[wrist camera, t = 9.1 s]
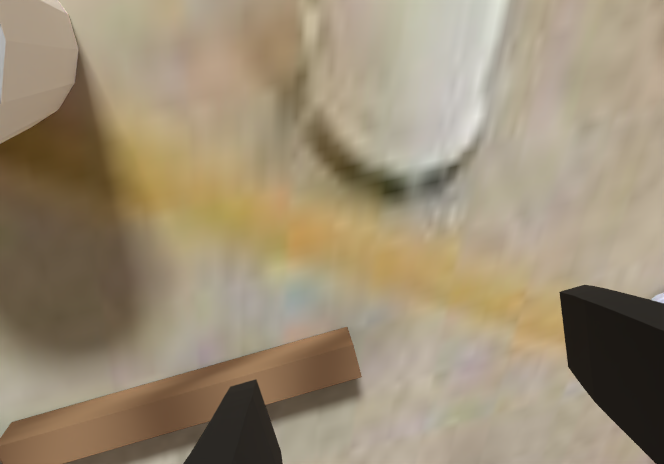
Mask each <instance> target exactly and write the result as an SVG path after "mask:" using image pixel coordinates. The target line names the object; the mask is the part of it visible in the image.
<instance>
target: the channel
mask: <svg viewBox="0 0 664 464" xmlns="http://www.w3.org/2000/svg"><path fill="white" fill-rule="evenodd" d="M360 377H362V376H361V373H360V369H359V365H358V361H357V357H356V354H355V350H354V346H353V343H352V340H351V337H350V334H349V331H348V328H347V327H345V328H341V329H338V330H334V331H331V332H327V333H324V334H320V335H317V336H313V337H310V338H306V339H303V340H299V341H296V342H292V343H289V344H285V345H282V346H278V347H275V348H271V349H268V350H264V351H261V352H257V353H254V354H250V355H247V356H243V357H240V358H236V359H233V360H229V361H226V362H222V363H219V364H215V365H212V366H208V367H205V368H201V369H197V370H194V371H190V372H187V373H183V374H180V375H176V376H173V377H169V378H166V379H162V380H159V381H155V382H152V383H148V384H145V385H141V386H138V387H134V388H131V389H127V390H124V391H120V392H117V393H113V394H110V395H106V396H103V397H99V398H96V399H92V400H89V401H85V402H82V403H78V404H75V405H71V406H68V407H64V408H61V409H57V410H54V411H50V412H47V413H43V414H40V415H36V416H32V417H29V418H25V419H22V420H18V421H15V422H11V424H10V425H9V427H8V428H7V430H6V431H5V432H4V434H3V435H2V437H1V438H0V460H1V462H2V464H63V463H67V462H70V461H74V460H77V459H81V458H84V457H87V456H91V455H94V454H98V453H101V452H105V451H108V450H112V449H115V448H119V447H122V446H125V445H129V444H132V443H136V442H139V441H143V440H146V439H150V438H153V437H156V436H160V435H163V434H167V433H170V432H174V431H177V430H181V429H184V428H187V427H191V426H194V425H198V424H201V423H205V422H208V421H210V420H211V419H212V417H213V415H214V413H215V412H216V410H217V408H218V406H219V405H220V403H221V401H222V399H223V398H224V396H225V394H226V393H227V391H228V389H229V388H230V387H231V386H234V385H238V384H241V383H245V382H248V381H252V380H255V379H257V382H258V385H259V388H260V391H261V394H262V397H263V400H264V403H265V405H267V404H270V403H274V402H277V401H281V400H284V399H287V398H291V397H294V396H298V395H301V394H305V393H308V392H312V391H315V390H319V389H322V388H325V387H329V386H332V385H336V384H339V383H343V382H346V381H350V380H353V379H356V378H360Z"/></svg>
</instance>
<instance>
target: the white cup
mask: <svg viewBox="0 0 664 464" xmlns="http://www.w3.org/2000/svg"><path fill="white" fill-rule="evenodd" d="M78 51H79V49H78V46H77V42H76V39H75V35H74V31H73V28H72V24H71V21H70V17H69V14H68V13H67V11H66V10H65V9H64V7H63V6H62V5H61V3H60V2H59V0H0V144H1V143H3V142H5V141H6V140H8V139H10V138H12V137H14V136H16V135H18V134H20V133H21V132H23V131H25V130H27V129H29V128H31V127H33V126H34V125H36V124H37V123H39V122H40V121H42V120H43V119H45V118H47V117H48V116H50V115H51V114H53V113H54V112H56V111H57V110H59V108H60V106H61V105H62V103H63V102H64V100H65V98H66V97H67V95H68V93H69V92H70V90H71V88H72V87H73V85H74V83H75V77H76V68H77V60H78Z"/></svg>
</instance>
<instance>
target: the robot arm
mask: <svg viewBox="0 0 664 464" xmlns="http://www.w3.org/2000/svg"><path fill="white" fill-rule="evenodd" d="M560 300H561V308H562V317H563V326H564V334H565V343H566V351H567V360H568V367H569V369H570V370H571V371H572V373H573V374H574V375H575V377H576V378H577V379H578V381H579V382H580V384H581V385H582V386H583V388H584V389H585V390H586V391H587V393H588V394H589V395H590V396H591V398H592V399H593V400H594V402H595V403H596V404H597V405H598V406H599V407H600V408H601V409H602V410H603V411H604V412H605V413H606V414H607V415H608V416H609V417H610V418H611V419H612V420H613V421H614V422H615V423H616V424H617V425H618V426H619V427H620V428H621V429H622V430H623V431H624V432H625V433H626V434H627V435H628V436H629V437H630V438H631V439H632V440H633V441H634V442H635V443H636V444H637V445H638V446H639V447H640V448H641V449H642V450H643V451H644V452H645V453H646V454H647V455H648V456H649V457H650V458H651V459H652V460H653V461H654V462H655V463H656V464H664V293H661V294H658V295H656V296H654V297H653V298H652V299H651V300H649V299H645V298H641V297H637V296H633V295H629V294H625V293H621V292H617V291H613V290H609V289H605V288H600V287H595V286H589V285H582V286H579V287H575V288H572V289H568V290H565V291H561V292H560ZM184 464H283V463H282V456H281V450H280V447H279V444H278V441H277V438H276V435H275V433H274V430H273V427H272V424H271V421H270V418H269V415H268V412H267V409H266V406H265V403H264V400H263V397H262V394H261V391H260V388H259V385H258V382H257V379H255V380H252V381H248V382H245V383H241V384H238V385H234V386H231V387H230V388H229V389H228V391H227V393H226V394H225V396H224V398H223V399H222V401H221V403H220V405H219V406H218V408H217V410H216V412H215V413H214V415H213V417H212V419H211V420H210V422H209V424H208V425H207V427H206V429H205V431H204V432H203V434H202V435H201V437H200V439H199V440H198V442H197V444H196V445H195V447H194V449H193V450H192V452H191V453H190V455H189V456H188V458H187V459H186V461H185V462H184Z"/></svg>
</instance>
